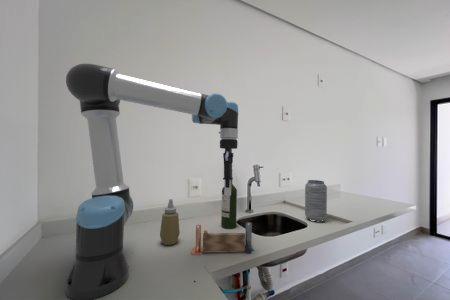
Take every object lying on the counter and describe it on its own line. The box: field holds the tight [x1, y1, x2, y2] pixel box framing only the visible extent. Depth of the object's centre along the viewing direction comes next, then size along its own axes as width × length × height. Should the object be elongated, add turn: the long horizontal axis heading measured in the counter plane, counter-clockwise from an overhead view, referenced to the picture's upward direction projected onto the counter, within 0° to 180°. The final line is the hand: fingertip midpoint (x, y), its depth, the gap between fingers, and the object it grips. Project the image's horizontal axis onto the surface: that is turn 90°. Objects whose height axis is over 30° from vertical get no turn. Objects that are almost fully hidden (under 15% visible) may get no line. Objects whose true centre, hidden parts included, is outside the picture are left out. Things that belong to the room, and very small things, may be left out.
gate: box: [202, 229, 245, 253], centre depth 74 cm, size 16×2×7 cm, turn 94°
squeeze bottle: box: [159, 199, 181, 246], centre depth 82 cm, size 8×8×18 cm
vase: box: [304, 179, 328, 221], centre depth 115 cm, size 12×12×23 cm
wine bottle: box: [220, 179, 238, 230], centre depth 102 cm, size 8×8×30 cm
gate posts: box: [190, 221, 255, 256], centre depth 76 cm, size 24×7×11 cm, turn 92°
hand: (227, 194), depth 82 cm, fingers closed
